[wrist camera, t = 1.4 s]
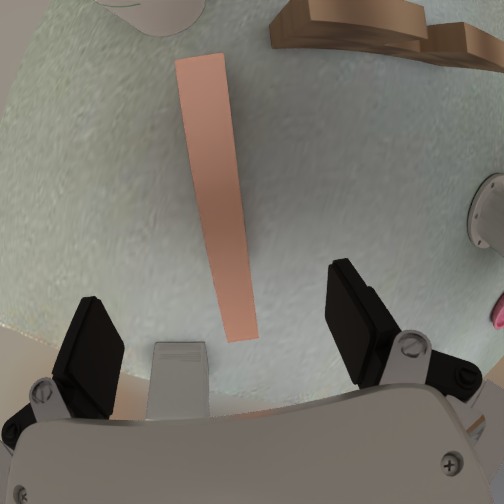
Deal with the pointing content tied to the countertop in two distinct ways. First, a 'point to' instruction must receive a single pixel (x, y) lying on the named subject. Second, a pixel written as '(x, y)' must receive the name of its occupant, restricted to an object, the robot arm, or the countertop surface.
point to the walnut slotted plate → (384, 32)
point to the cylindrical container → (156, 14)
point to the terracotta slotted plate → (218, 188)
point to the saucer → (499, 314)
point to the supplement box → (178, 382)
